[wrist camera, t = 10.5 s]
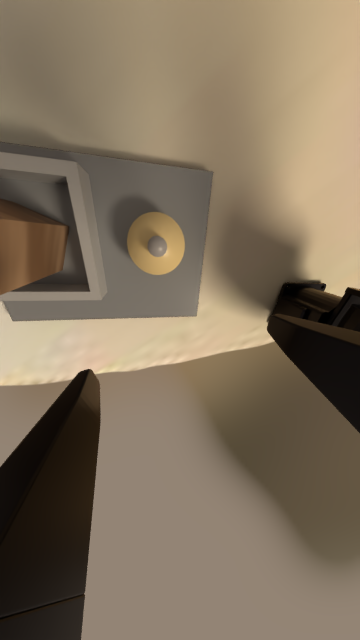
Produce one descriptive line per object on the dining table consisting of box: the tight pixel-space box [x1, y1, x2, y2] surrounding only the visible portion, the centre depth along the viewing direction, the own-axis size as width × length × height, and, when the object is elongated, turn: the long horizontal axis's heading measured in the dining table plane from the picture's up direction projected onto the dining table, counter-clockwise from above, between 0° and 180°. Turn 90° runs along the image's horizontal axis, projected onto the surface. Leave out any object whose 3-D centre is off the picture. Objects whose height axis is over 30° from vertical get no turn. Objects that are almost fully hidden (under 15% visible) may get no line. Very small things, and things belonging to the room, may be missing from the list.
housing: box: [0, 142, 213, 321], centre depth 14 cm, size 20×14×4 cm
